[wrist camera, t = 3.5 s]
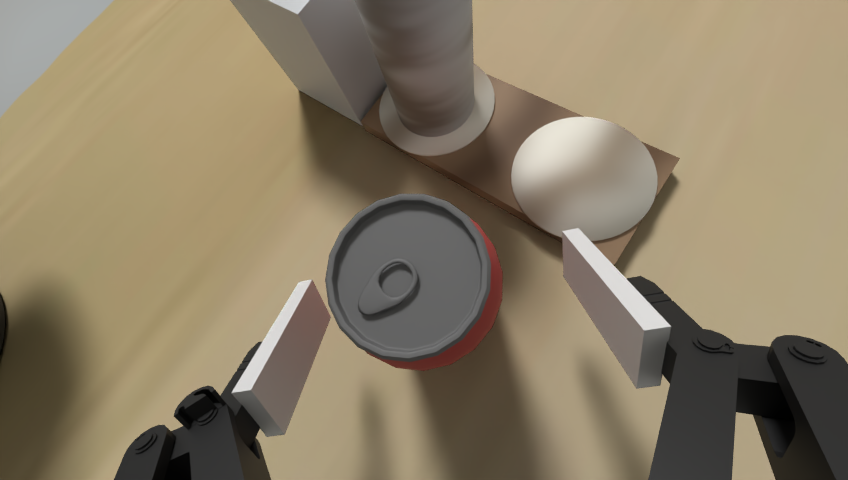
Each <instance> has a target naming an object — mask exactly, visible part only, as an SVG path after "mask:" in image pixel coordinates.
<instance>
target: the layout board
mask: <svg viewBox="0 0 848 480" xmlns="http://www.w3.org/2000/svg"><path fill="white" fill-rule="evenodd" d="M354 1H355V3H356V6H357V9H358V11H359V14H360V16H361V19H362V22H363V24H364V27H365V29H366V32H367V35H368V37H369V40H370V42H371V45H372V48H373V50H374V53H375V56H376V58H377V61H378V63H379V66H380V69H381V71H382V74H383V76H384V79H385V82H386V84H387V87H386V89H385V91H384V92H383V94H382V95H381V96H380V98H379V99H378V100H377V101H376V103H375V104H374V105H373V106H372V108H371V109H370V110H369V111H368V113H367V114H366V115H365V117H364V118H363V119H362V120H361V123H362V125H363V127H364V129H365V130H366V131H367V132H369V133H371V134H373V135H374V136H376V137H378V138H380V139H381V140H383V141H385V142H387V143H388V144H390V145H392V146H394V147H395V148H397V149H399V150H401V151H402V152H404V153H406V154H408V155H409V156H411V157H413V158H415V159H416V160H418V161H420V162H422V163H423V164H425V165H427V166H429V167H430V168H432V169H434V170H436V171H437V172H439V173H441V174H443V175H444V176H446V177H448V178H450V179H451V180H453V181H455V182H457V183H458V184H460V185H462V186H464V187H465V188H467V189H469V190H471V191H472V192H474V193H476V194H478V195H479V196H481V197H483V198H485V199H486V200H488V201H490V202H492V203H493V204H495V205H497V206H499V207H500V208H502V209H504V210H506V211H507V212H509V213H511V214H513V215H514V216H516V217H518V218H520V219H521V220H523V221H525V222H527V223H528V224H530V225H532V226H534V227H535V228H537V229H539V230H541V231H542V232H544V233H546V234H548V235H550V236H551V237H553V238H555V239H557V240H558V241H560V242H562V231H566V230H571V229H576V228H579V229H580V230H581V231H582V232H583V234H584V235H585V236H586V237H587V238H588V239H589V240H590V241H591V242H592V243H593V244H594V245H595V246H596V247H597V248H598V249H599V250H600V252H601V253H602V254H603V255H604V256H605V257H606V258H607V259H608V260H609V261H610V262H611V263H612V264H613V265H615V263H616V262H617V260H618V258H619V257H620V255H621V253H622V252H623V250H624V249H625V247H626V245H627V244H628V242H629V240H630V239H631V237H632V236H633V234H634V232H635V231H636V229H637V227H638V226H639V224H640V222H641V221H642V219H643V218H644V216H645V215H646V213H647V212H648V211H649V209H650V207H651V205H652V204H653V202H654V200H655V198H656V196H657V195H658V193H659V192H660V190H661V188H662V187H663V185H664V183H665V182H666V180H667V178H668V177H669V175H670V174H671V172H672V170H673V169H674V167H675V165H676V164H677V162H678V161H679V159H680V158H678V157H675V156H673V155H671V154H669V153H666V152H664V151H662V150H659V149H657V148H655V147H653V146H650V145H648V144H646V143H643V142H641V141H640V140H639V139H638V138H637V137H636V136H634V135H633V134H632V133H631V132H629V131H628V130H626V129H625V128H623V127H621V126H619V125H617V124H615V123H612V122H609V121H607V120H602V119H598V118H592V117H584V116H581V115H579V114H577V113H575V112H572V111H570V110H568V109H565V108H563V107H561V106H558V105H556V104H554V103H552V102H549V101H547V100H545V99H542V98H540V97H538V96H536V95H533V94H531V93H529V92H526V91H524V90H522V89H519V88H517V87H515V86H513V85H510V84H508V83H506V82H503V81H501V80H499V79H497V78H494V77H492V76H490V75H487V74H485V72H484V71H483V70H482V69H481V68H480V67H478V66H477V65H475V64H474V63H473V23H472V0H354Z"/></svg>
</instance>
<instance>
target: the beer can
mask: <svg viewBox="0 0 848 480" xmlns="http://www.w3.org/2000/svg"><path fill="white" fill-rule="evenodd" d="M502 281H503V272H502V269H501V266H500V262H499V259H498V256H497V253H496V250H495V247H494V245H493V244H492V243H491V241H490V240H489V238H488V237H487V236H486V234H485V233H484V231H483V230H482V229H481V227H480V226H479V225H478V224H477V223H476V222H475V221H473V220H472V219H470V218H469V216H467V215H466V214H465V213H463V212H462V211H461V210H459V209H458V208H456V207H455V206H454V205H452V204H451V203H449V202H448V201H445V200H442V199H439V198H436V197H433V196H430V195H426V194H398V195H395V196H391V197H388V198H384V199H381V200H378V201H376V202H374V203H373V204H371V205H370V206H368V207H366V208H365V209H363V210H362V211H360V212H359V213H357V214H356V215H355V216H354V217H353V218H352V220H351V221H350V222H349V223H348V224H347V225H346V226H345V227H344V229H343V230H342V231H341V232H340V234H339V236H338V238H337V240H336V242H335V244H334V246H333V248H332V250H331V252H330V255H329V260H328V266H327V272H326V278H325V282H326V289H327V297H328V304H329V307H330V309H331V311H332V313H333V315H334V317H335V319H336V322H337V324H338V326H339V328H340V329H341V330H342V331H343V332H344V333H345V334H346V335H347V336H348V337H349V338H350V339H351V340H352V341H353V342H354V343H355V345H356V346H357V347H359V348H361V349H363V350H365V351H366V352H367V354H369V355H371V356H373V357H375V358H377V359H379V360H381V361H383V362H385V363H387V364H389V365H391V366H394V367H396V368H403V369H412V370H420V371H425V370H429V369H433V368H438V367H442V366H446V365H451V364H452V363H454V362H455V361H457V360H459V359H460V358H462V357H463V356H465V355H466V354H468V353H470V352H471V351H473V350H474V349H475V348H476V347H477V346H478V345H479V343H480V342H481V341H482V339H483V338H484V337H485V336H486V334H487V333H488V332H489V331H490V329H491V328H492V327H493V324H494V321H495V319H496V316H497V313H498V310H499V307H500V305H501V302H502Z"/></svg>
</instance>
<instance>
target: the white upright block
mask: <svg viewBox="0 0 848 480" xmlns="http://www.w3.org/2000/svg"><path fill="white" fill-rule="evenodd" d="M230 1H231V2H232V3H233V5H234V6H235V7H236V9H237V10H238V11H239V13H240V14H241V15H242V17H243V18H244V19H245V20H246V22H247V23H248V24H249V26H250V27H251V28H252V30H253V31H254V32H255V34H256V35H257V36H258V38H259V39H260V40H261V41H262V43H263V44H264V45H265V47H266V48H267V49H268V51H269V52H270V53H271V55H272V56H273V57H274V59H275V60H276V61H277V62H278V64H279V65H280V66H281V68H282V69H283V70H284V72H285V73H286V74H287V76H288V77H289V78H290V80H291V81H292V82H293V83H294V85H295V86H296V87H297V89H298V90H300V91H302V92H303V93H305V94H307V95H309V96H310V97H312V98H314V99H316V100H317V101H319V102H321V103H323V104H324V105H326V106H328V107H330V108H331V109H333V110H335V111H337V112H339V113H340V114H342V115H344V116H346V117H347V118H349V119H351V120H353V121H354V122H356V123H358V124H360V125H361V126H363V125H362V123H361V120H362V119H363V118H364V117H365V115H366V114H367V113H368V111H369V110H370V109H371V108H372V106H373V105H374V104H375V103H376V101H377V100H378V99H379V98H380V96H381V95H382V94H383V92H384V91H385V89H386V87H387V84H386V82H385V79H384V76H383V74H382V71H381V69H380V66H379V63H378V61H377V58H376V56H375V53H374V50H373V48H372V45H371V42H370V40H369V37H368V35H367V32H366V29H365V27H364V24H363V22H362V19H361V16H360V14H359V11H358V9H357V6H356V3H355V1H354V0H230Z"/></svg>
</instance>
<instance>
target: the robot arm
mask: <svg viewBox="0 0 848 480" xmlns="http://www.w3.org/2000/svg"><path fill="white" fill-rule="evenodd" d="M562 243H563V277H564V278H565V280H566V281H567V283H568V284H569V286H570V287H571V289H572V290H573V292H574V293H575V295H576V297H577V298H578V300H579V301H580V303H581V304H582V306H583V307H584V309H585V310H586V312H587V313H588V315H589V316H590V318H591V320H592V321H593V323H594V324H595V326H596V327H597V329H598V330H599V332H600V333H601V335H602V336H603V338H604V340H605V341H606V343H607V344H608V346H609V347H610V349H611V350H612V352H613V353H614V355H615V356H616V358H617V359H618V361H619V363H620V364H621V366H622V367H623V369H624V370H625V372H626V373H627V375H628V376H629V378H630V379H631V381H632V383H633V384H634V386H635V387H636V389H637V388H645V387H652V386H660V384H661V378H662V374H663V375H664V377H665V378H666V379H667V381H668V382H669V383H670V387H669V392H668V396H667V400H666V405H665V409H664V414H663V418H662V422H661V427H660V431H659V435H658V440H657V444H656V449H655V453H654V457H653V462H652V466H651V471H650V475H649V479H648V480H732V466H733V449H734V433H735V417H736V412H739V413H746V414H752V415H753V416H754V419H755V422H756V425H757V428H758V431H759V433H760V436H761V439H762V442H763V445H764V448H765V451H766V453H767V456H768V459H769V462H770V465H771V468H772V471H773V473H774V476H775V479H776V480H848V364H847V362H846V361H845V359H844V358H843V357H842V356H841V355H840V354H839V353H838V352H837V351H835V350H834V349H832V348H830V347H829V346H827V345H825V344H823V343H821V342H818V341H816V340H813V339H810V338H806V337H801V336H795V335H784V336H780V337H776V338H775V339H774V341H773V342H772V344H771V346H770V347H766V346H755V345H744V344H737V343H733V341H732V340H730V339H729V338H727V337H726V336H724V335H722V334H720V333H717V332H714V331H712V330H706V329H702V328H701V327H700V326H699V325H698V324H697V323H696V322H695V321H694V320H693V319H692V318H691V317H690V316H689V315H687V314H686V313H685V312H684V311H683V310H682V309H681V308H680V307H679V306H678V305H677V304H676V303H675V302H674V301H672V300H671V298H670V297H668V296H667V295H666V294H664V292H663V291H662V290H661V289H660V288H659V287H658V286H657V285H656V284H655V283H653V282H651V281H649V280H647V279H645V278H643V277H641V276H638V277H633V278H627V279H626V278H625V277H624V276H623V275H622V274H621V273H620V272H619V271H618V270H617V268H616V267H615V266H614V265H613V264H612V263H611V262H610V261H609V260H608V259H607V258H606V257H605V256H604V255H603V254H602V253H601V252H600V250H599V249H598V248H597V247H596V246H595V245H594V244H593V243H592V242H591V241H590V240H589V239H588V238H587V237H586V236H585V235H584V234H583V232H582V231H581V230H580V229H579V228H576V229H571V230H566V231H562ZM330 318H331V317H330V315H329V313H328V310H327V308H326V306H325V304H324V302H323V300H322V298H321V296H320V294H319V292H318V290H317V288H316V286H315V284H314V282H313V280H306V281H301V282H299V283H298V284H297V286H296V288H295V289H294V291H293V293H292V294H291V296H290V298H289V299H288V301H287V302H286V304H285V306H284V307H283V309H282V311H281V312H280V314H279V316H278V317H277V319H276V320H275V322H274V324H273V325H272V327H271V329H270V330H269V332H268V334H267V335H266V337H265V339H264V340H263V341H262V342H258V343H257V344H256V345H255V346H254V347H253V348H252V349H251V350H250V351H249V352H248V353H247V355H246V357H245V358H244V360H243V361H242V364H240V366H239V368H238V369H237V372H235V374H234V375H233V377H232V379H231V380H230V382H229V383H228V385H227V386H226V388H225V389H224V391H223V393H222V394H221V396H220V395H219V394H218V393H217V392H216V390H215V389H214V388H213V387H211V386H205V387H201V388H199V389H197V390H195V391H193V392H192V393H191V394H189V395H188V396H187V397H186V398H185V399H184V400H183V401H182V402H181V403H180V404H179V405H178V407H177V408H176V410H175V413H174V417H175V418H176V419H177V420H178V421H179V422H180V423H181V424H182V425H183V427H180V428H178V429H176V430H173V431H170V430H169V429H168V428H167V427H166V426H165V425H158V426H155V427H152V428H150V429H149V430H147V431H145V432H144V433H142V434H141V435H140V436H139V437H138V438H136V439H135V441H134V442H133V443H132V444H131V445H130V446H129V448H128V449H127V451H126V453H125V454H124V457H123V459H122V462H121V464H120V466H119V469H118V471H117V474H116V476H115V479H114V480H271V478H270V475H269V472H268V469H267V465H266V462H265V459H264V456H263V453H262V449H261V446H260V443H259V442H258V440H257V439H256V435H257V433H258V431H259V429H261V430H262V431H263V433H264V434H265V435H266V436H267V437H269V436H277V435H284V434H285V433H286V430H287V427H288V425H289V422H290V420H291V417H292V415H293V412H294V410H295V407H296V405H297V402H298V400H299V397H300V394H301V392H302V389H303V387H304V384H305V382H306V379H307V377H308V374H309V372H310V369H311V367H312V364H313V361H314V359H315V356H316V354H317V351H318V349H319V346H320V344H321V341H322V339H323V336H324V334H325V331H326V328H327V326H328V323H329V321H330ZM4 330H5V314H4V306H3V302H2V299H1V296H0V351H1V348H2V343H3V338H4Z"/></svg>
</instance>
